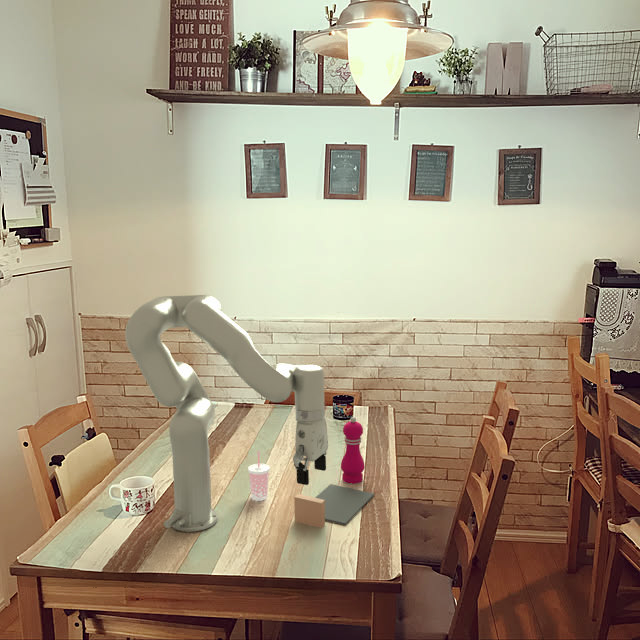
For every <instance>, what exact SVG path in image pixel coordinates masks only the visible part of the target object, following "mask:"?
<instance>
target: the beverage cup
mask: <svg viewBox="0 0 640 640" xmlns="http://www.w3.org/2000/svg"><path fill="white" fill-rule="evenodd" d="M247 469H248V470H247V472H248V475H249V486H250V499H251V500H253V501H257V502H259V501H264V500H267V499H268V492H269V489H268V488H269V472H270V465H269V464H267V463H260V450H257V463H254V464H251V465H249V466H248V467H247Z"/></svg>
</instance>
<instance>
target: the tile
mask: <svg viewBox="0 0 640 640" xmlns="http://www.w3.org/2000/svg"><path fill="white" fill-rule="evenodd" d="M293 504H294V507H293V508H294V522H295V523H300V524H303V525H308V526H311V525H312V526H311V527H315V526H316V528H319V527H321V528H320V529H322V528H324V526H326V521H325V500H323V499H318V498H315V497H313V496H308V495H304V494H302V493H301V494H300V493H297V494H296V495H295V496H294V503H293Z"/></svg>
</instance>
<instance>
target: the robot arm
mask: <svg viewBox="0 0 640 640" xmlns="http://www.w3.org/2000/svg"><path fill="white" fill-rule="evenodd" d="M171 328H187V329H188V330H189V331H190V332H192V333H193V334H194V335H195V336H196V337H198V338H199V339H200V340H201V341H203V343H205V344H206V345H208V346H209V347H210V348H212V349H213V350H214V351H215V352H216V353H217V354H218V355H220V356H221V357H223V359H225V360H226V362H227V363H228V365H229V366H230V367H231V368H232V369H233V370H234V372H235V373H236V374H237V375H238V377H240V378H241V380H242V381H243V382H244V383H245V384H247V385H248V387H250V388H251V389H252V390H254V392H256V393H258V394H259V395H260V396H261V397H262V398H264V399H266V400H267V401H269V402H272V403H281V402H284V401H286V400H287V399H288V398H289V397H290V396H291V393H292V392H294V406H295V407H294V409H295V410H294V411H295V413H294V414H295V421H296V424H295V437H294V438H295V442H294V443H295V447H294V448H295V449H294V450H295V453H294V455H293V457H292V461H293V466H294V467H295V470H296V483H297V484H298V485H303V486H309V484H310V479H309V478H310V477H309V473H310V472H309V469H308V467H309V463H310V462H314V463H313V464H314V470H318V471H326V470H327V458H326V457H327V456H326V455H327V451H328V449H329V439H328V438H329V435H328V428H327V421H326V413H325V412H326V410H325V408H326V406H325V374H324V369H323V368H322V367H321V366H319V365H315V364H306V365H305V364H303V365H294V364H289V363H277V364H273V365H271V364H270V363H269V362H268V361H267V360H266V359H264V358H263V357H262V355H261V354H260V353H259V352H258V351H257V349H256V348H255V346H254V343H253V341H252V339H251V337H250V335H249V333H248V332H246V331H245V330H244V329H243V328H242V327H240V326H239V325H238V324H237V323H235V321H233V320H232V319H231V318H230V317H228V316H227V315H226V314H225V313H223V309H222V305H221V303H220V302H219V300H217V299H216V298H215V297H213V296H211V295H209V294H194V295H193V294H192V295H168V296H166V295H165V296H158V297H156V298H153V299H151V300H149V301H148V302H145V303H143V304H142V305H140V306H139V307H138V308H137V309H136V310H134V312H133V314H132V315H131V316H130V317H129V319H128V322H127V323H126V326H125V330H124V331H125V332H124V333H125V335H124V338H125V342H126V346H127V348H128V351H129V352H130V354H131V355H132V357H133V359H134V361H135V363H136V364H137V366H138V368H139V370H140V372H141V374H142V376H143V378H144V380H145V381H146V384H147V385H148V387H149V389H150V391H151V392H152V394H153V397H154V398H155V399H156V401H157V402H158V403H159V404H160V405H162V406H164V407H168V408H170V407H172V408H173V407H175V409H176V411H175V413H174V414H173V416H172V418H171V420H170V422H169V423H170V424H169V429H168V432H169V440H170V446H171V453H172V455H171V456H172V473H173V474H172V476H173V494H174V495H173V498H174V502H173V503H174V509H173V510H172V514H171V515H170V516H169V518H168V519H166V520H165V521H163V526H164V527H165V528H166V529H170V528H172V527H173V529H174V530H177V531H179V530H180V531H179V532H184V531H185V532H187V533H190V532H191V533H193V532H194V533H195V532H201V531H204V530H206V529H208V528H209V529H210V528H211V527H212V526H214V525H215V524H216V523H217V521H218V513H217V511H216V510H215V509H213V508H212V488H211V487H212V486H211V485H212V484H211V482H212V481H211V480H212V479H211V462H210V460H211V458H210V456H211V455H210V447H209V439H208V438H209V436H208V434H209V433H208V432H209V429H210V428H211V425H212V424H213V423H214V420H215V415H216V414H215V413H216V411H215V407H214V403H213V402H212V400H211V398H210V397H209V394H208V392H207V391H206V389H205V387H204V386H203V382H202V381H201V380H200V377H199V376H198V374H197V373H196V371H195V370H194V369H193V368H192V366H190V365H189V364H188V363H185V362H183V361H175V359H174V358H173V356H172V354H171V352H170V350H169V348H168V347H167V346H166V345H165V343H164V342H163V341H162V338H161V336H162V334H163V333H165V332H166V331H168V330H169V329H171ZM302 461H303V462H304V463H303V462H302Z"/></svg>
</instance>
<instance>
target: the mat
mask: <svg viewBox="0 0 640 640" xmlns="http://www.w3.org/2000/svg"><path fill="white" fill-rule="evenodd" d="M374 496H375V493H374V492H370V491H364V490H361V489H355V488H352V487H346V486H342V485H337V484H332V483H331V484H329V485H328V486H327V487H325V488H324V489H323V490H322V491H321V492H320V493H318V495H316V496H315V497H314V498H318V499H323V500H325V522H329V523H333V522H334V524H337V523H340V524H339V525H341V524H344V525H343V526H346V525H348V523H349V522H350V521H351V520H352V519H353V518H354V517H355V516H356V515H357V514H358V513H359V512H360V511H361V510H362V509H363V508H364V507H365V506H366V505H367V504H366V503H369V502H370V500H372V498H374ZM365 504H366V505H365ZM364 505H365V506H364ZM363 506H364V507H363ZM362 507H363V508H362ZM361 508H362V509H361ZM360 509H361V510H360ZM359 510H360V511H359ZM358 511H359V512H358ZM357 512H358V513H357ZM356 513H357V514H356ZM355 514H356V515H355ZM354 515H355V516H354ZM353 516H354V517H353ZM352 517H353V518H352ZM351 518H352V519H351ZM350 519H351V520H350ZM349 520H350V521H349Z"/></svg>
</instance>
